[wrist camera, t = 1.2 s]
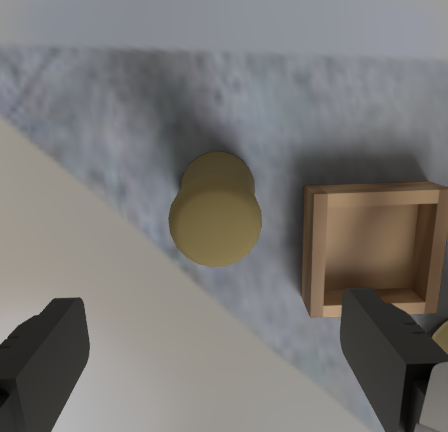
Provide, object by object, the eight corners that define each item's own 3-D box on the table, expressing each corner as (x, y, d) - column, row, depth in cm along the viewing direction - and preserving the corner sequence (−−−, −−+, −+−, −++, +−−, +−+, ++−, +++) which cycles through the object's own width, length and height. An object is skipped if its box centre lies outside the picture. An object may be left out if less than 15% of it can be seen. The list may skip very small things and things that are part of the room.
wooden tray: (428, 181, 29) (453, 189, 26) (415, 293, 32) (436, 313, 28) (304, 185, 29) (314, 194, 26) (301, 297, 32) (310, 317, 28)
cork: (213, 135, 28) (207, 146, 17) (270, 184, 29) (297, 223, 18) (165, 193, 29) (132, 236, 19) (221, 238, 30) (221, 304, 20)
